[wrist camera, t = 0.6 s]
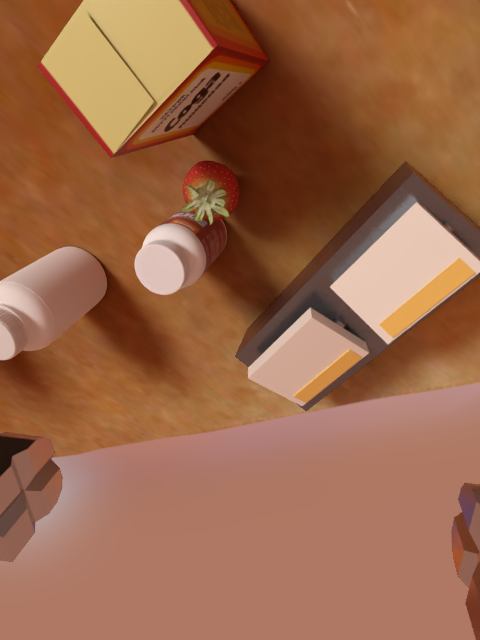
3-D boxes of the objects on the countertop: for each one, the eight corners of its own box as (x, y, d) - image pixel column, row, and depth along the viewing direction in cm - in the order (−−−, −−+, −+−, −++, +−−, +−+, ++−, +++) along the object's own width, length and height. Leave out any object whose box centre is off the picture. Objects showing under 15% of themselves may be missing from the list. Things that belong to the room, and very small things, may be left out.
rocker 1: (310, 307, 37) (312, 318, 36) (365, 342, 39) (369, 354, 38) (248, 367, 42) (248, 379, 41) (301, 395, 44) (302, 407, 43)
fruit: (212, 215, 43) (186, 238, 37) (191, 164, 41) (159, 179, 35) (257, 198, 41) (237, 220, 35) (237, 145, 39) (212, 156, 33)
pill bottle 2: (224, 201, 42) (186, 233, 33) (232, 258, 45) (199, 302, 36) (168, 205, 44) (117, 237, 35) (180, 260, 47) (135, 303, 37)
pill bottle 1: (92, 315, 54) (10, 385, 41) (42, 274, 53) (-58, 334, 40) (121, 276, 50) (40, 340, 37) (67, 231, 49) (-35, 281, 36)
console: (405, 161, 36) (414, 174, 31) (488, 235, 38) (512, 262, 32) (247, 328, 49) (232, 360, 43) (313, 380, 50) (308, 418, 44)
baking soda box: (222, -12, 34) (132, -78, 20) (269, 60, 35) (215, 44, 22) (147, 73, 38) (33, 66, 25) (192, 134, 40) (107, 158, 26)
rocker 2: (417, 201, 32) (416, 202, 31) (484, 263, 32) (486, 267, 30) (333, 283, 37) (329, 287, 36) (390, 338, 37) (387, 345, 35)
